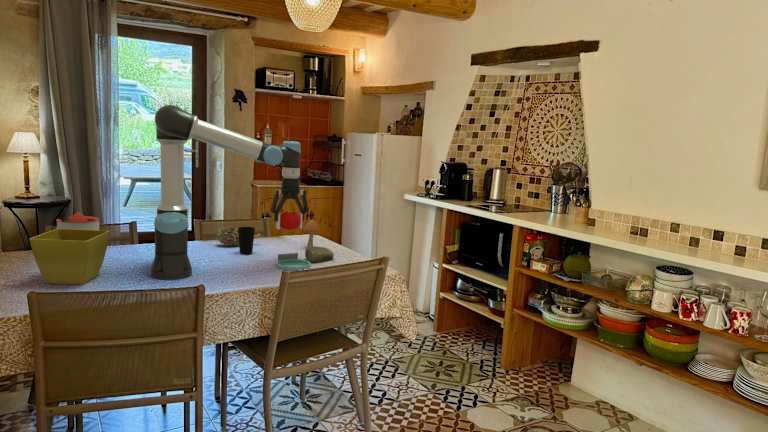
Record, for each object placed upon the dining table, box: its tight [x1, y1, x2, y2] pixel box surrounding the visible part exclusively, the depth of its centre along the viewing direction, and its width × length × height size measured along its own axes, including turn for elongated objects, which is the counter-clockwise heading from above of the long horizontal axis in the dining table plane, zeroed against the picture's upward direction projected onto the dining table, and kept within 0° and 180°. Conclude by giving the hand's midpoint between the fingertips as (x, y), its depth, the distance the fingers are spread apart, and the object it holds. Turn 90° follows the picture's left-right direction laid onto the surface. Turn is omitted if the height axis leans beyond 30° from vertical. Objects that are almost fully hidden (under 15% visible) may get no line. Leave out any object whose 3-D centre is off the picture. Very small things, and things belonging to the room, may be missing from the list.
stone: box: [304, 246, 335, 263], centre depth 240 cm, size 9×14×10 cm, turn 133°
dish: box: [275, 258, 312, 271], centre depth 227 cm, size 14×14×2 cm
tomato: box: [280, 211, 300, 231], centre depth 230 cm, size 9×9×8 cm
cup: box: [237, 226, 256, 256], centre depth 245 cm, size 8×8×12 cm
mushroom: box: [303, 219, 320, 248], centre depth 262 cm, size 8×8×15 cm
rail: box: [277, 252, 299, 261], centre depth 235 cm, size 9×1×4 cm, turn 119°
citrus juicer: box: [55, 211, 101, 230], centre depth 218 cm, size 16×17×20 cm
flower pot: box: [29, 228, 110, 285], centre depth 190 cm, size 19×19×17 cm
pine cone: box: [215, 225, 261, 247], centre depth 261 cm, size 22×10×10 cm, turn 120°
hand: (289, 228), depth 231 cm, fingers closed on tomato, 9 cm apart
